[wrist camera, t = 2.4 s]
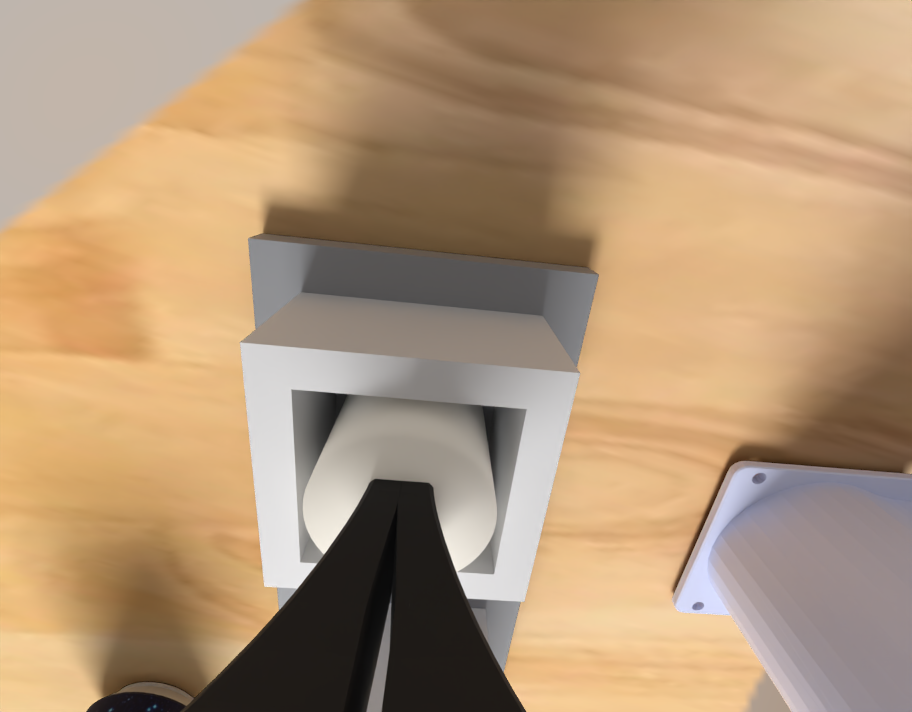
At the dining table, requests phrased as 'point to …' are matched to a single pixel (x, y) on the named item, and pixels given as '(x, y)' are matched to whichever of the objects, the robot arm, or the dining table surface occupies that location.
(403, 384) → the plug panel
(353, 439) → the cream plug
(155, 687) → the beverage can
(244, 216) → the dining table surface
